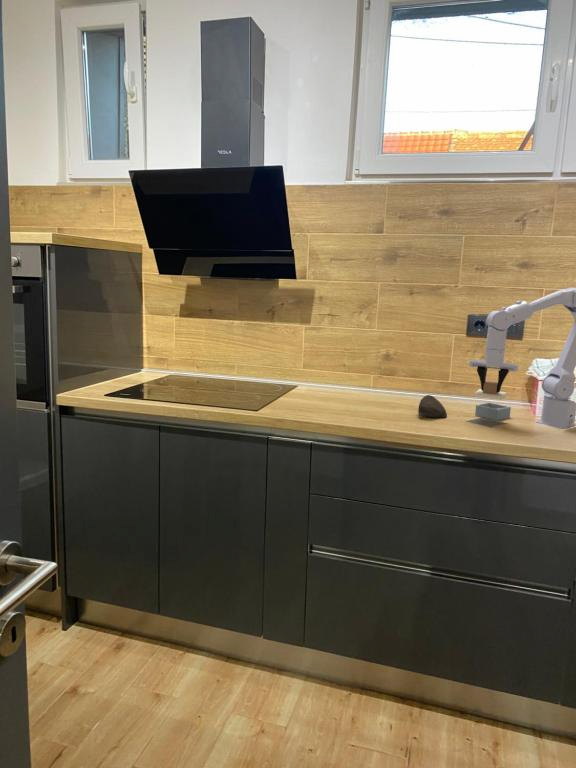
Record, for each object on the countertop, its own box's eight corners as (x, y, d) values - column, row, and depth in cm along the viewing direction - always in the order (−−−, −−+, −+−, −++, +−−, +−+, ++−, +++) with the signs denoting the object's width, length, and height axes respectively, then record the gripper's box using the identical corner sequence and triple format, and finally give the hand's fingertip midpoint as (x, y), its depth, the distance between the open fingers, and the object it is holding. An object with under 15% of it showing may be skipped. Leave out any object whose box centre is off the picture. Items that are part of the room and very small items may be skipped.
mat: (506, 424, 182) (506, 423, 182) (491, 428, 176) (491, 427, 176) (481, 418, 188) (481, 417, 188) (465, 422, 183) (465, 421, 183)
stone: (435, 424, 194) (415, 402, 195) (454, 410, 189) (433, 388, 190) (426, 435, 186) (406, 411, 187) (446, 420, 181) (424, 396, 182)
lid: (506, 395, 185) (507, 382, 184) (501, 400, 177) (503, 386, 176) (479, 391, 189) (480, 379, 188) (473, 396, 181) (474, 383, 181)
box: (509, 418, 190) (510, 407, 190) (496, 421, 185) (497, 409, 185) (487, 413, 196) (489, 402, 196) (474, 416, 191) (476, 405, 191)
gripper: (521, 350, 180) (516, 392, 182) (474, 345, 187) (470, 386, 189) (518, 352, 174) (513, 395, 176) (469, 347, 181) (465, 389, 183)
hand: (490, 391), depth 182 cm, fingers closed on lid, 4 cm apart
